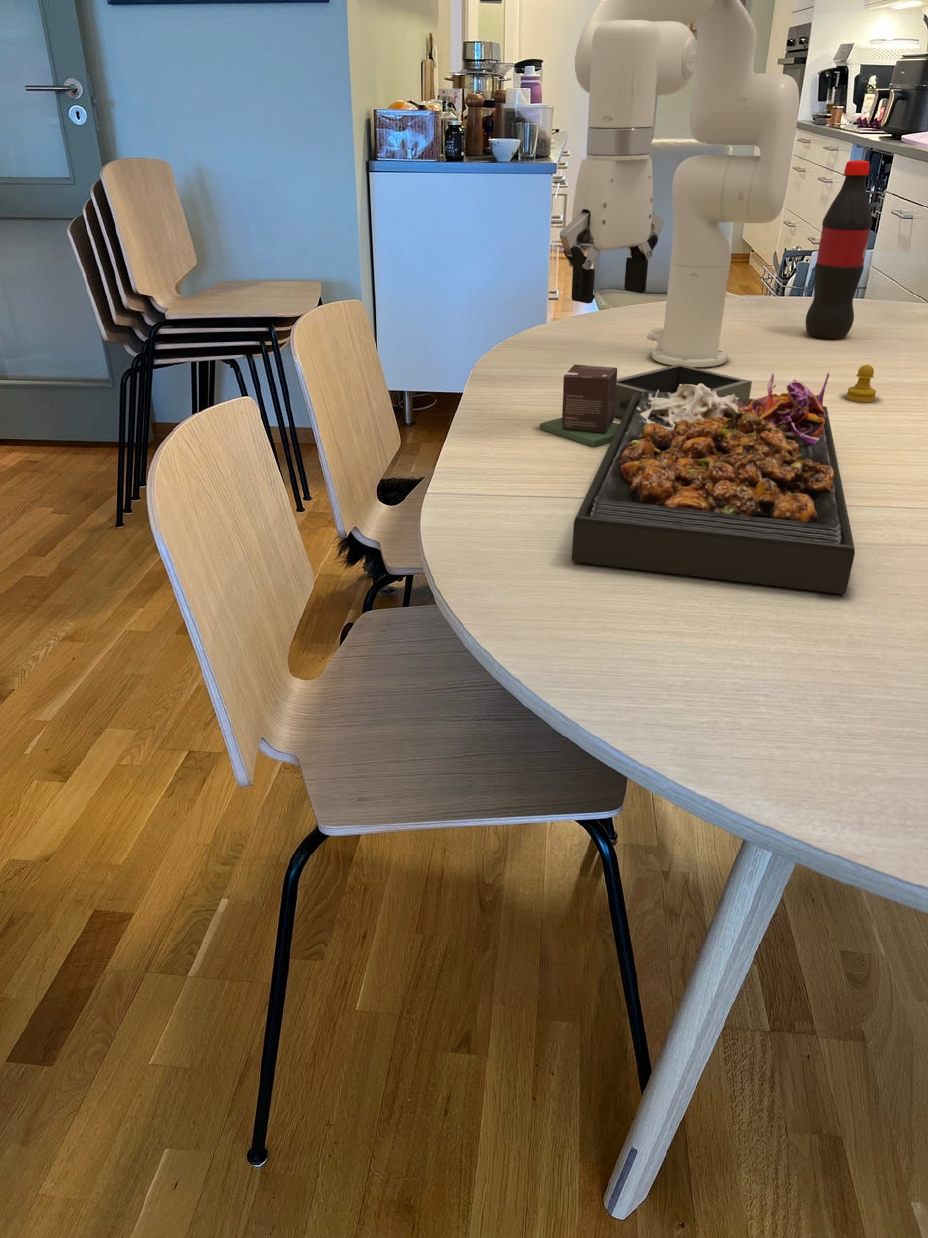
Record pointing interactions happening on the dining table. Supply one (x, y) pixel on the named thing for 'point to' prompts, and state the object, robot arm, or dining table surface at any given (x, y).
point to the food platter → (721, 491)
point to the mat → (580, 433)
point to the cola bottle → (841, 256)
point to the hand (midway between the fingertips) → (608, 296)
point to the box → (589, 398)
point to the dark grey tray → (677, 384)
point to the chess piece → (862, 386)
